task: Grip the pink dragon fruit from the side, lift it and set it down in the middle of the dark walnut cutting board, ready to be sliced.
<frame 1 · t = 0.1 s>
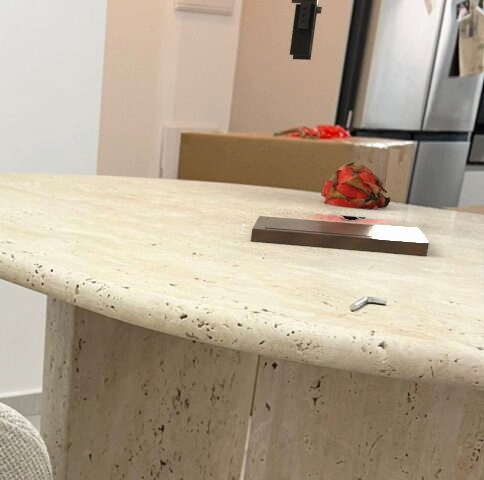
hand: (300, 57, 140), 22 cm above the table, tool pointing down, fingers open, 13 cm apart
cutting board: (336, 240, 118), on the table
dragon fruit: (351, 219, 141), on the table
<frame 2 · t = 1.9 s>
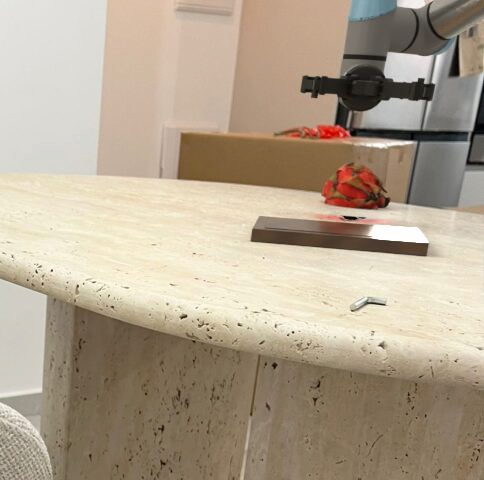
hand: (369, 88, 143), 18 cm above the table, tool horizontal, fingers open, 13 cm apart
nothing on the table moved.
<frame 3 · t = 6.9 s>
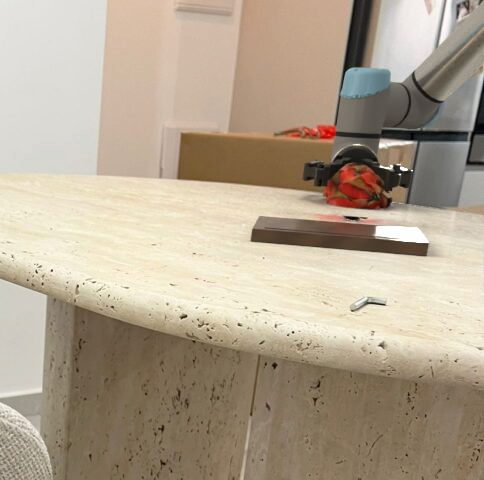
hand: (358, 178, 135), 6 cm above the table, tool horizontal, fingers closed on dragon fruit, 8 cm apart
dragon fruit: (352, 220, 141), on the table, touching gripper
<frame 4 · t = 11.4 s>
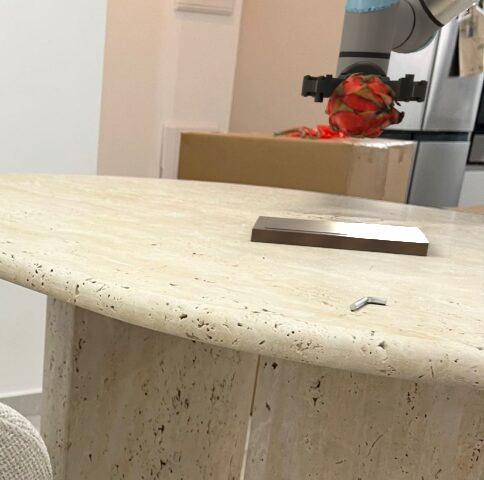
hand: (365, 87, 116), 18 cm above the table, tool horizontal, fingers closed on dragon fruit, 8 cm apart
dragon fruit: (359, 139, 123), point 12 cm above the table, touching gripper
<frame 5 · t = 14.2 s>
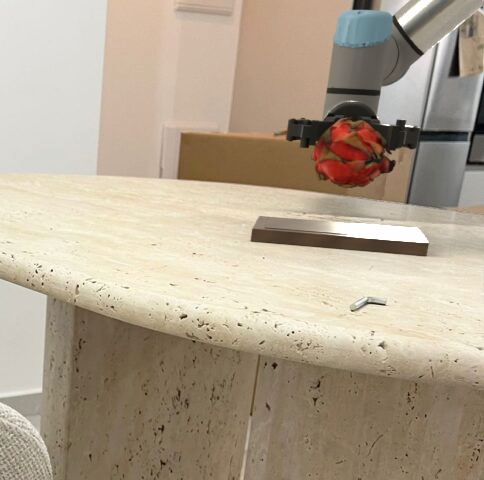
hand: (353, 135, 109), 13 cm above the table, tool horizontal, fingers closed on dragon fruit, 8 cm apart
dragon fruit: (347, 188, 115), point 6 cm above the table, touching gripper
when the fingers open (8 cm above the table, at t = 16.1 s): dragon fruit stays where it is, resting on cutting board.
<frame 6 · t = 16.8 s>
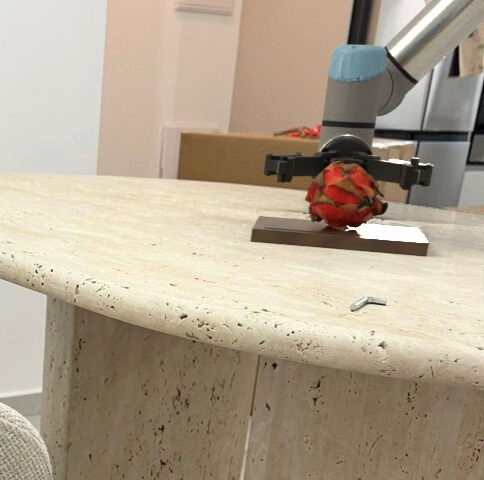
hand: (347, 174, 112), 8 cm above the table, tool horizontal, fingers open, 13 cm apart
dragon fruit: (340, 229, 117), point 1 cm above the table, touching cutting board
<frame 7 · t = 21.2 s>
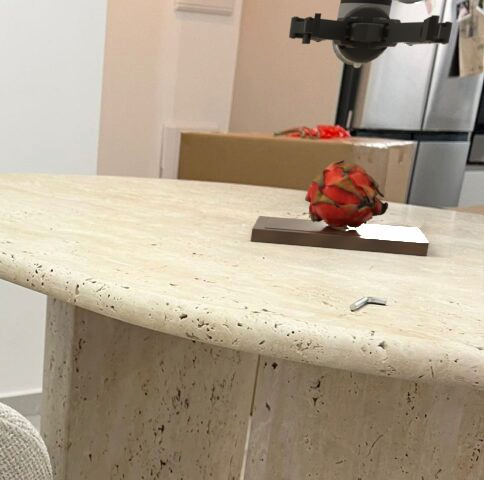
hand: (373, 26, 117), 25 cm above the table, tool horizontal, fingers open, 13 cm apart
nothing on the table moved.
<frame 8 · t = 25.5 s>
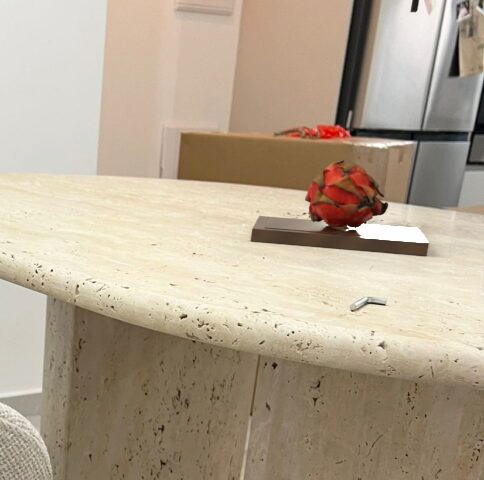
hand: (464, 13, 134), 29 cm above the table, tool pointing down, fingers open, 13 cm apart
nothing on the table moved.
at the end: dragon fruit inside the target area on the cutting board (0.4 cm from its centre), point 1.4 cm above the cutting board's base; the gripper is holding nothing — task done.
